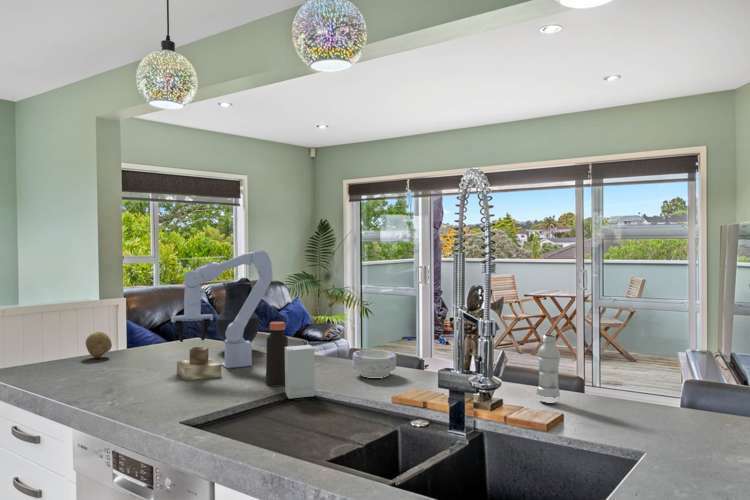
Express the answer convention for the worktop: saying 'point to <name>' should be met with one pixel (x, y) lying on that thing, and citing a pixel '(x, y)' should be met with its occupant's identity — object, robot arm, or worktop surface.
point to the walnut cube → (198, 356)
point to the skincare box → (299, 371)
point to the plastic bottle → (548, 367)
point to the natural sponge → (98, 344)
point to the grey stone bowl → (374, 362)
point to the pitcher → (236, 309)
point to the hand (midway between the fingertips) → (192, 340)
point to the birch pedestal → (198, 370)
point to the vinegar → (276, 354)
